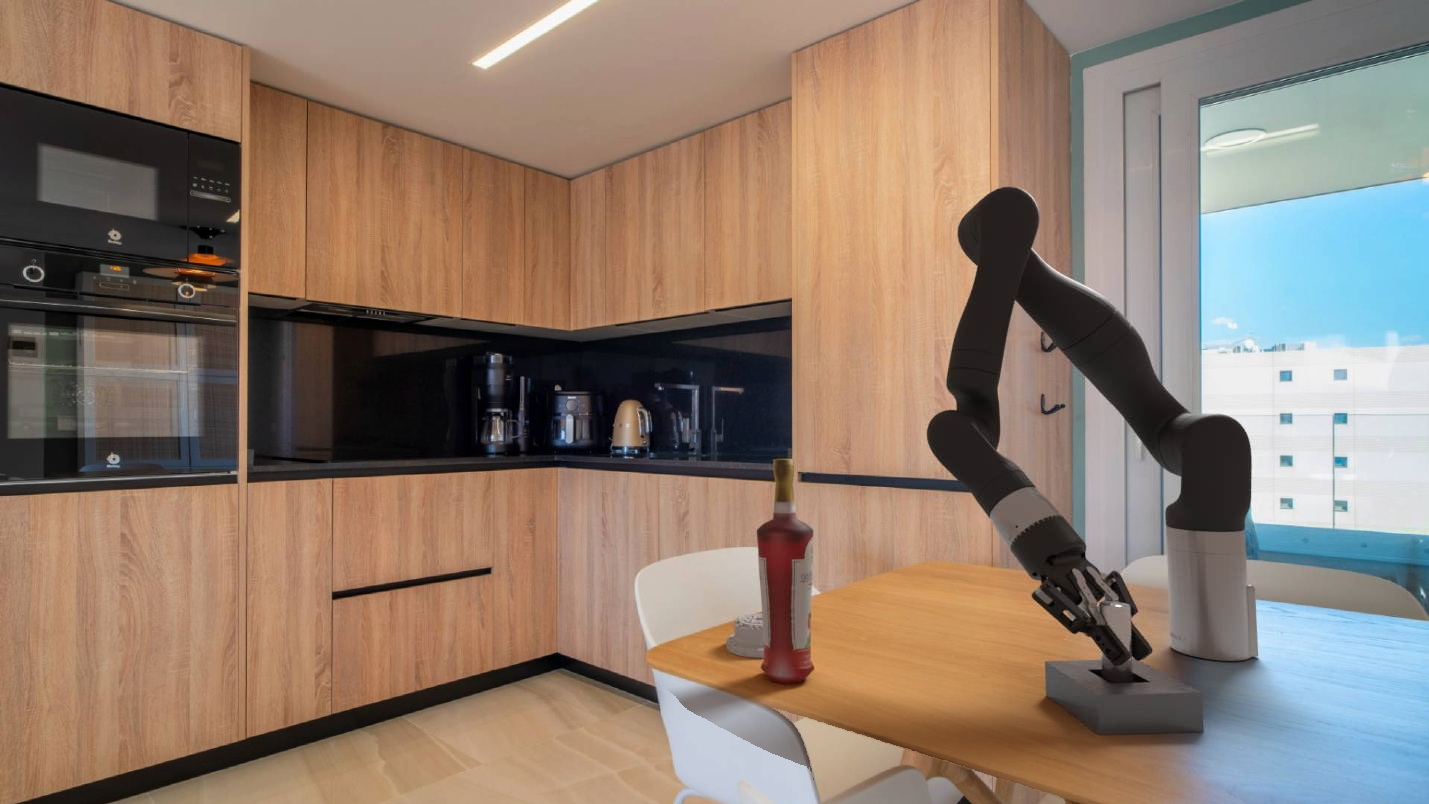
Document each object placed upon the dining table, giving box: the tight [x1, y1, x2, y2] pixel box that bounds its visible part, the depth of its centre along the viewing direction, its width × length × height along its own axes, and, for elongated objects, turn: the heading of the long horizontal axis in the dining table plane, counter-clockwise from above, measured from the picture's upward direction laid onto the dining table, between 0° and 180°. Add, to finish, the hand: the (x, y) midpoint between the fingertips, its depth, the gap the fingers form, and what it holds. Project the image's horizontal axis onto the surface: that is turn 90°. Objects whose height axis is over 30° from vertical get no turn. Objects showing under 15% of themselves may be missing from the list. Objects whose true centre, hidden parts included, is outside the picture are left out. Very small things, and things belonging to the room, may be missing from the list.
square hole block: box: [1044, 658, 1205, 736], centre depth 79 cm, size 11×11×4 cm
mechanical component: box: [725, 613, 764, 659], centre depth 105 cm, size 10×4×10 cm
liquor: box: [756, 458, 815, 685], centre depth 93 cm, size 7×7×28 cm
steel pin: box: [1099, 601, 1133, 683], centre depth 79 cm, size 3×3×10 cm
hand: (1134, 658), depth 78 cm, fingers open, 3 cm apart
